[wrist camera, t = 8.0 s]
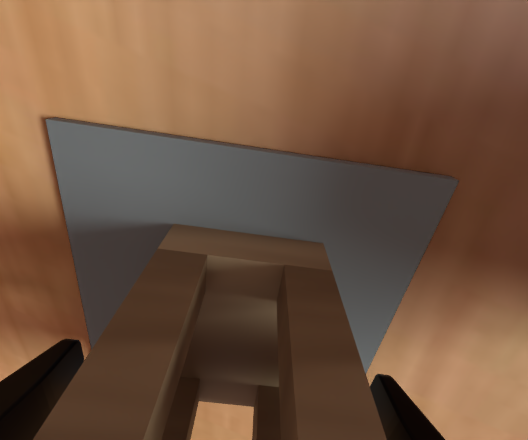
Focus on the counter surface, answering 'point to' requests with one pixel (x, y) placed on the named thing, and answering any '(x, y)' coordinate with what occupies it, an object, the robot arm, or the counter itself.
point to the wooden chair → (223, 347)
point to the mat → (240, 213)
